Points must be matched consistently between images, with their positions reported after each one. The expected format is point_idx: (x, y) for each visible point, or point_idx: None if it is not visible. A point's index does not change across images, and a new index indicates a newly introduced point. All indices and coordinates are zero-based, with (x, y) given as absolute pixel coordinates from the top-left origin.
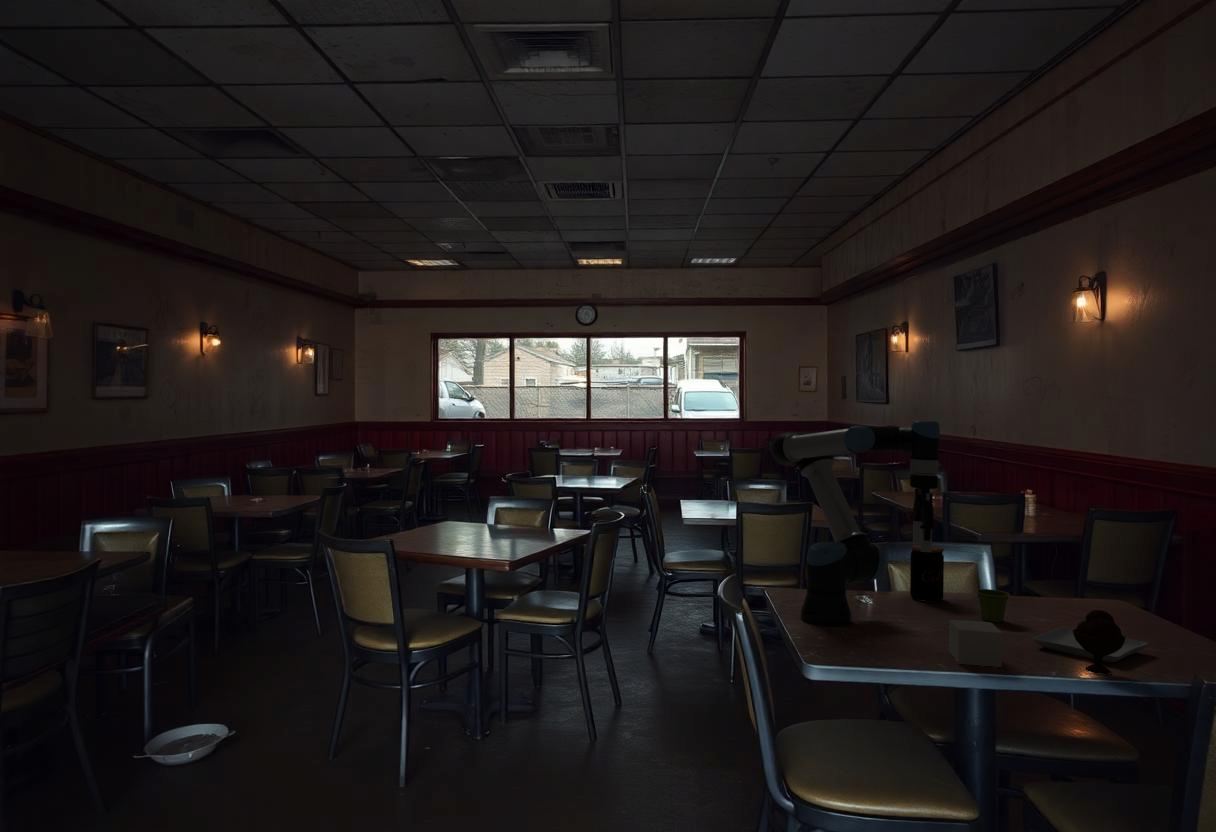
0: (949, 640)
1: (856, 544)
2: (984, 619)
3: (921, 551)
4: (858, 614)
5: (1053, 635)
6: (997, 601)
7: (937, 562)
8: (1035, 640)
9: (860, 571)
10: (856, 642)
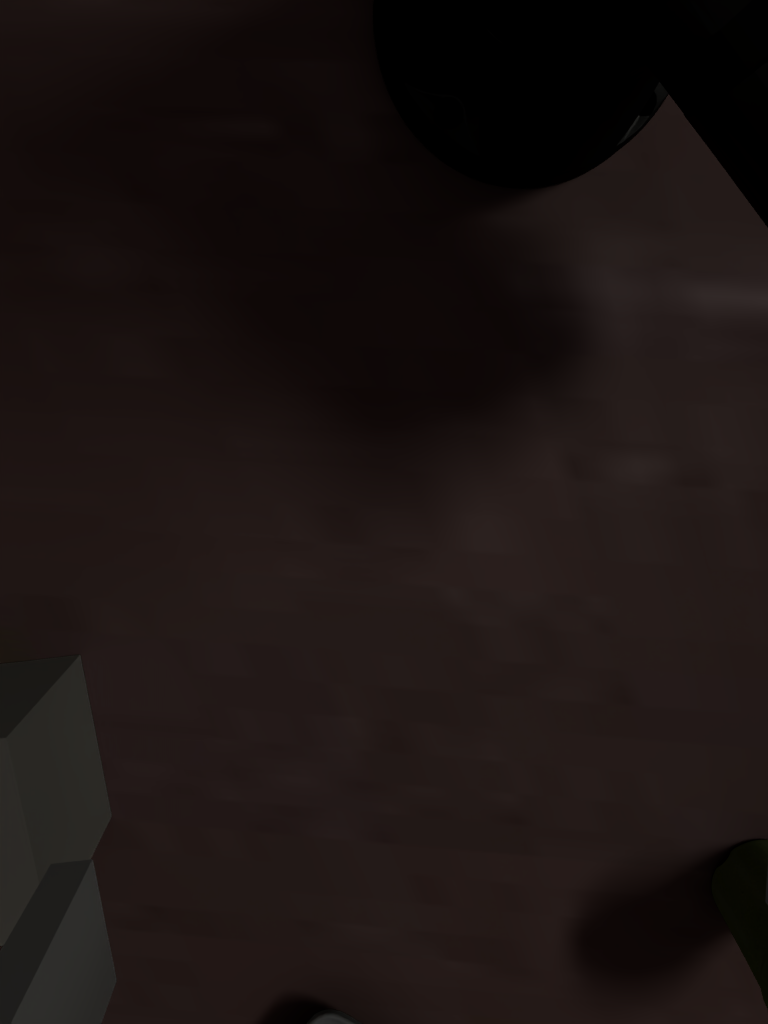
0: (53, 681)
1: None
2: (735, 850)
3: (47, 870)
4: (707, 238)
5: None
6: (760, 982)
7: None
8: (313, 1017)
9: (721, 138)
10: (72, 204)
